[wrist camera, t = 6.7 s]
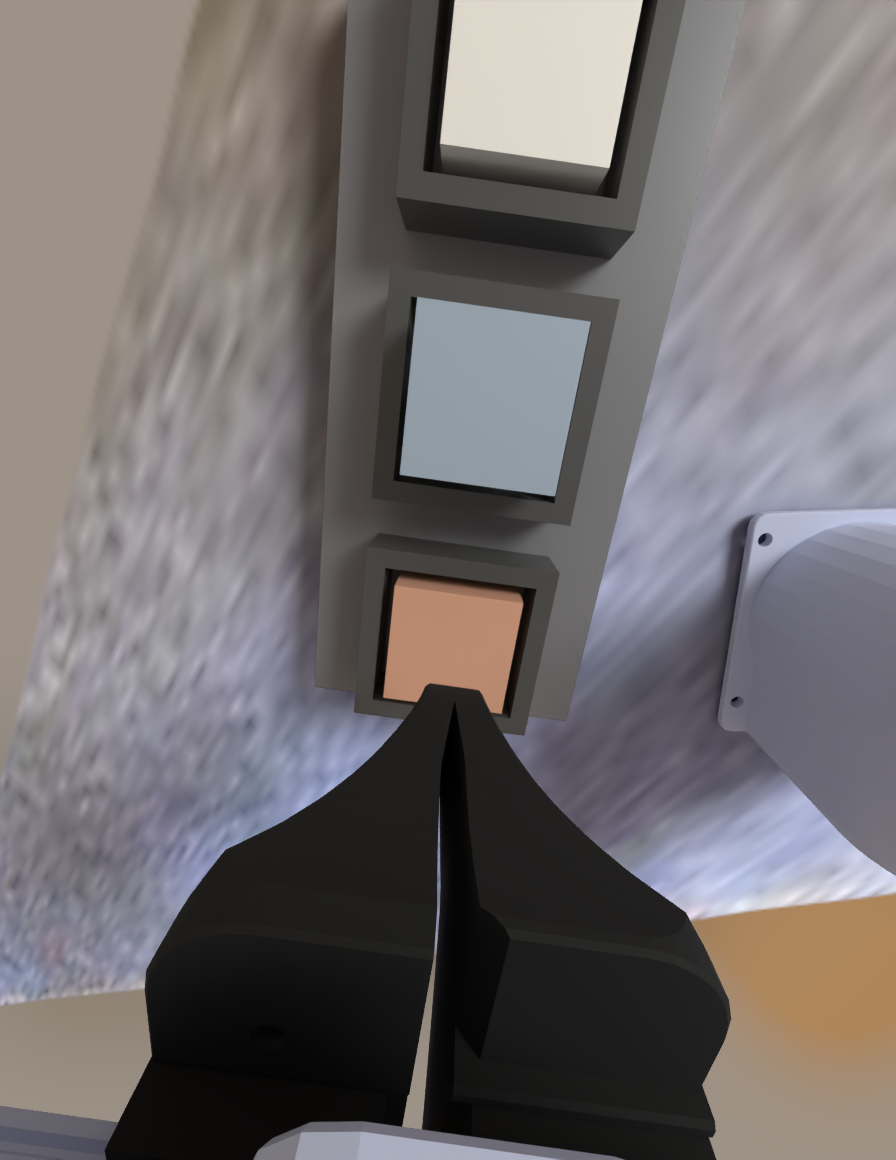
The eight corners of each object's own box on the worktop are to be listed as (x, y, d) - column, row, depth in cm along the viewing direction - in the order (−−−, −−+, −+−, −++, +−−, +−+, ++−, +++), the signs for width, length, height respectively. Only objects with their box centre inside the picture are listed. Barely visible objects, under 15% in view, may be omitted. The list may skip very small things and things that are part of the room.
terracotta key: (497, 682, 17) (501, 713, 15) (392, 668, 17) (383, 697, 15) (516, 582, 16) (523, 603, 14) (403, 567, 16) (394, 585, 14)
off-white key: (587, 206, 13) (609, 168, 11) (443, 186, 13) (440, 143, 11) (624, 15, 11) (656, -68, 10) (464, -8, 11) (464, -97, 10)
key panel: (556, 693, 20) (577, 755, 16) (328, 662, 20) (296, 716, 16) (713, 32, 13) (813, -128, 9) (369, -19, 13) (329, -200, 9)
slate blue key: (542, 486, 14) (554, 496, 12) (409, 468, 14) (399, 474, 12) (571, 338, 12) (590, 321, 11) (424, 317, 12) (417, 297, 11)
